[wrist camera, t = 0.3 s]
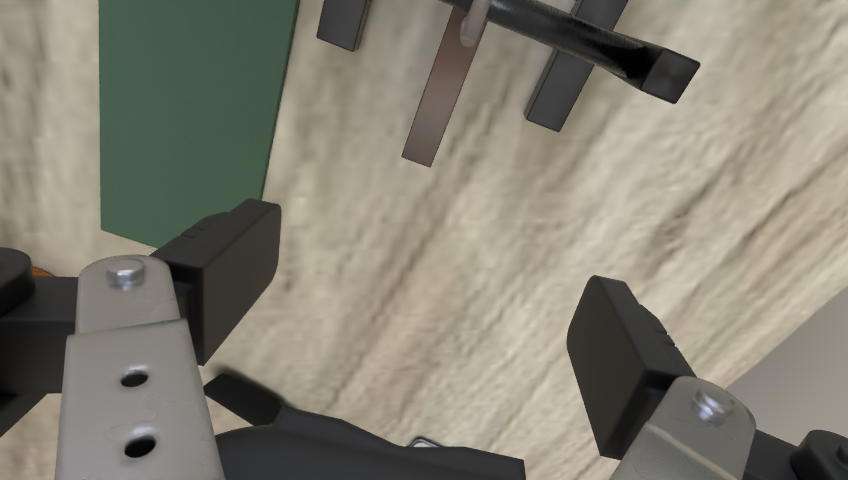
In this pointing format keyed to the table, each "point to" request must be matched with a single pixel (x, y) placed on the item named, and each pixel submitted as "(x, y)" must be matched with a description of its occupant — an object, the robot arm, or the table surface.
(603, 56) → the rail stand
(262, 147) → the mat
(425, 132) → the brown bar with hook
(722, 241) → the table surface
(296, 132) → the table surface
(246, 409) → the electric trimmer
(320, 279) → the table surface
